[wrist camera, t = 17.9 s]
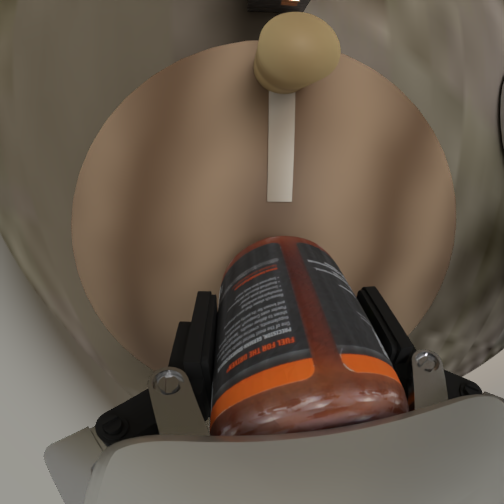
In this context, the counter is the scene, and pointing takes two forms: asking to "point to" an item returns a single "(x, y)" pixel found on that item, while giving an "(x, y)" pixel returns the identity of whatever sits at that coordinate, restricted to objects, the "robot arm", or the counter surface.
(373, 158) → the turntable
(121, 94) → the counter surface
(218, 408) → the supplement bottle
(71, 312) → the counter surface
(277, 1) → the small hammer
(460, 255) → the counter surface
